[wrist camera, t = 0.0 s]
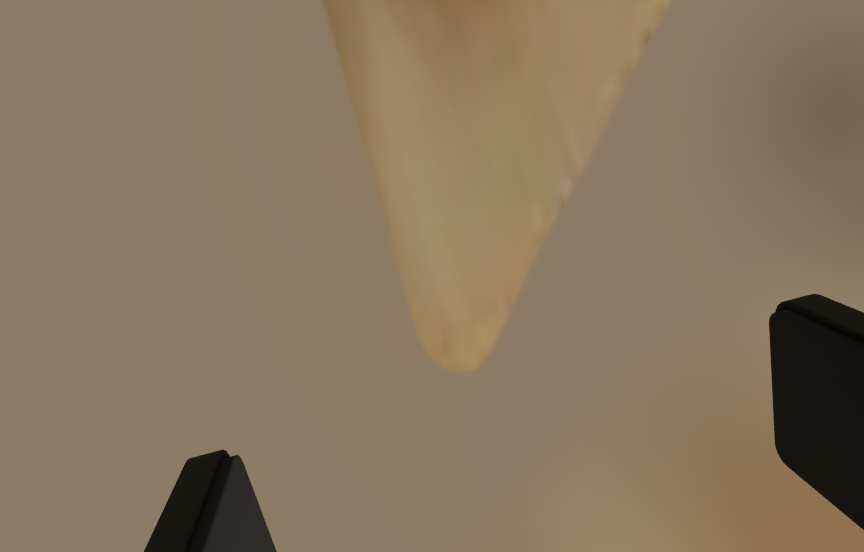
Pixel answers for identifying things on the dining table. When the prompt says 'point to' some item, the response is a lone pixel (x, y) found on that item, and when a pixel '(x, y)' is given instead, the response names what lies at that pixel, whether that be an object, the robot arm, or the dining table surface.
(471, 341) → the dining table surface
